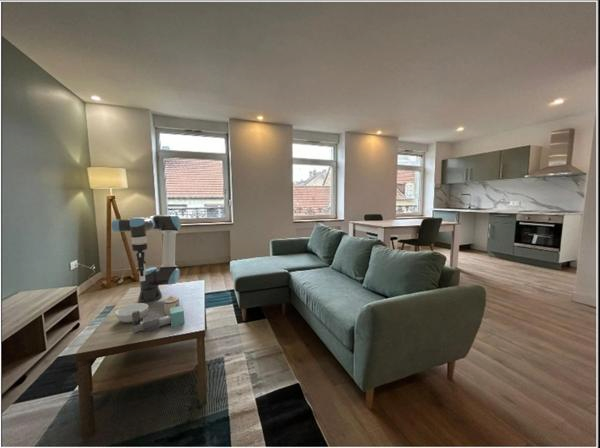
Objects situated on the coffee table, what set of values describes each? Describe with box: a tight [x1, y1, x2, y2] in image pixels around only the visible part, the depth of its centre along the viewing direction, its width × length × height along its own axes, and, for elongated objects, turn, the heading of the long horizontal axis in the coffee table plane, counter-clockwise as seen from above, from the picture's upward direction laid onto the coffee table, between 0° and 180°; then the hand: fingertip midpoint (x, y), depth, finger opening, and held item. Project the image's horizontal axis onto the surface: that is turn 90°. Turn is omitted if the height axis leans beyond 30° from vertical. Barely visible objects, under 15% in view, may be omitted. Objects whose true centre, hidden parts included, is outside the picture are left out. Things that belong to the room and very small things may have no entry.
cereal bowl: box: [115, 302, 149, 323], centre depth 151 cm, size 17×17×7 cm
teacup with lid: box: [163, 294, 180, 316], centre depth 161 cm, size 12×9×12 cm
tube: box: [132, 311, 171, 333], centre depth 141 cm, size 4×23×10 cm, turn 121°
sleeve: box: [142, 313, 161, 334], centre depth 140 cm, size 7×8×6 cm
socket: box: [170, 305, 185, 328], centre depth 147 cm, size 9×7×8 cm
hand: (142, 277), depth 146 cm, fingers open, 13 cm apart
